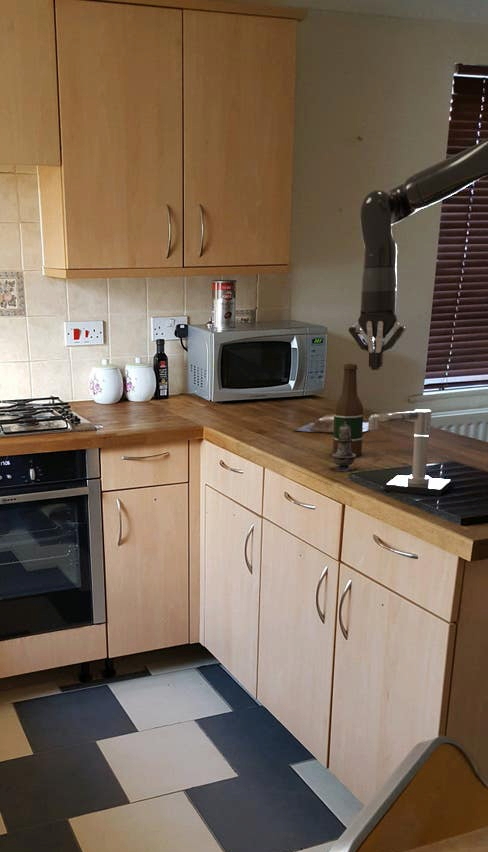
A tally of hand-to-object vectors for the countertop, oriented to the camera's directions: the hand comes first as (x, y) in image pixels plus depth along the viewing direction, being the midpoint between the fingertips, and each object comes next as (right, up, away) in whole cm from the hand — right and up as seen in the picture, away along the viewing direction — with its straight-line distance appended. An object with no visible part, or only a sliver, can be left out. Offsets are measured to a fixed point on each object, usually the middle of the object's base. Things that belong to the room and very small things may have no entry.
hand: (375, 369), depth 198 cm
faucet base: (+9, -27, 0) cm, 29 cm away
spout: (+4, -16, -5) cm, 17 cm away
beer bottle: (+2, -14, +39) cm, 41 cm away
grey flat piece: (+7, 0, +81) cm, 82 cm away
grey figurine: (-3, -20, +22) cm, 30 cm away
